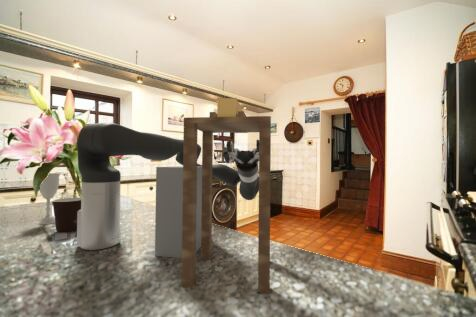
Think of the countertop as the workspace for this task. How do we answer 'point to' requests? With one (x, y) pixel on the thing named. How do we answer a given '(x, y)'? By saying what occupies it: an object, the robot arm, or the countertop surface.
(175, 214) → the block
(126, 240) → the countertop surface
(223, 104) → the yellow bar
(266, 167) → the stool
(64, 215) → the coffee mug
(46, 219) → the chalice
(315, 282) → the countertop surface
